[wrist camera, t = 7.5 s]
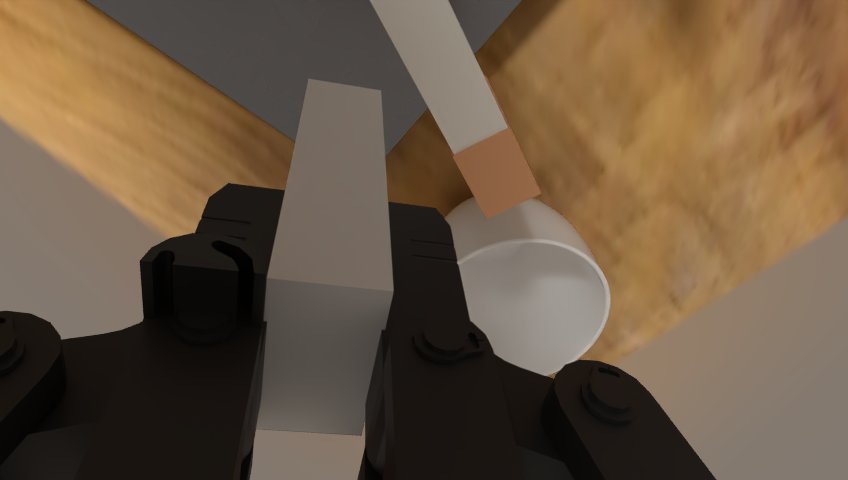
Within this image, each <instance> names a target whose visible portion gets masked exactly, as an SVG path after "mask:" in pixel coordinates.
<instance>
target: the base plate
mask: <svg viewBox="0 0 848 480" xmlns="http://www.w3.org/2000/svg"><path fill="white" fill-rule="evenodd" d="M86 1H88V2H89V3H91V4H92V5H94V6H95V7H97V8H98V9H100V10H101V11H103V12H104V13H106V14H107V15H109V16H110V17H112V18H113V19H115V20H116V21H117V22H119V23H120V24H122V25H123V26H125V27H126V28H128V29H129V30H131V31H132V32H134V33H135V34H137V35H138V36H140V37H141V38H143V39H144V40H146V41H147V42H148V43H150V44H151V45H153V46H154V47H156V48H157V49H159V50H160V51H162V52H163V53H165V54H166V55H168V56H169V57H171V58H172V59H174V60H175V61H177V62H178V63H179V64H181V65H182V66H184V67H185V68H187V69H188V70H190V71H191V72H193V73H194V74H196V75H197V76H199V77H200V78H202V79H203V80H205V81H206V82H208V83H209V84H210V85H212V86H213V87H215V88H216V89H218V90H219V91H221V92H222V93H224V94H225V95H227V96H228V97H230V98H231V99H233V100H234V101H236V102H237V103H239V104H240V105H241V106H243V107H244V108H246V109H247V110H249V111H250V112H252V113H253V114H255V115H256V116H258V117H259V118H261V119H262V120H264V121H265V122H267V123H268V124H269V125H271V126H272V127H274V128H275V129H277V130H278V131H280V132H281V133H283V134H284V135H286V136H287V137H289V138H290V139H292V140H293V141H296V136H297V131H298V127H299V122H300V117H301V112H302V108H303V103H304V98H305V93H306V88H307V84H308V79H314V80H320V81H326V82H332V83H338V84H345V85H351V86H357V87H363V88H369V89H375V90H381V97H382V113H383V129H384V145H385V156H386V155H387V154H388V153H389V152H390V151H391V150H392V148H393V147H394V146H395V145H396V144H397V143H398V142H399V140H400V139H401V138H402V137H403V136H404V135H405V134H406V132H407V131H408V130H409V129H410V128H411V127H412V126H413V124H414V123H415V122H416V121H417V120H418V119H419V118H420V116H421V115H422V114H423V113H424V112H425V111H426V110H427V108H428V106H427V104H426V102H425V101H424V99H423V97H422V95H421V93H420V91H419V90H418V88H417V86H416V84H415V82H414V80H413V79H412V77H411V75H410V73H409V71H408V69H407V68H406V66H405V64H404V62H403V60H402V58H401V57H400V55H399V53H398V51H397V49H396V47H395V46H394V44H393V42H392V40H391V38H390V36H389V35H388V33H387V31H386V29H385V27H384V25H383V24H382V22H381V20H380V18H379V16H378V14H377V13H376V11H375V9H374V7H373V5H372V3H371V2H370V0H86ZM448 1H449V3H450V5H451V7H452V9H453V11H454V13H455V15H456V18H457V20H458V22H459V24H460V26H461V28H462V30H463V32H464V34H465V37H466V39H467V41H468V43H469V45H470V47H471V49H472V51H473V53H474V55H475V53H476V52H477V51H478V50H479V49H480V48H481V47H482V45H483V44H484V43H485V42H486V41H487V40H488V39H489V37H490V36H491V35H492V34H493V33H494V32H495V31H496V29H497V28H498V27H499V26H500V25H501V24H502V23H503V21H504V20H505V19H506V18H507V17H508V16H509V15H510V13H511V12H512V11H513V10H514V9H515V8H516V7H517V5H518V4H519V3H520V2H521V1H522V0H448Z"/></svg>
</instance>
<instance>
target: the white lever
mask: <svg viewBox="0 0 848 480" xmlns="http://www.w3.org/2000/svg"><path fill="white" fill-rule="evenodd" d="M370 2H371V3H372V5H373V7H374V9H375V11H376V13H377V14H378V16H379V18H380V20H381V22H382V24H383V25H384V27H385V29H386V31H387V33H388V35H389V36H390V38H391V40H392V42H393V44H394V46H395V47H396V49H397V51H398V53H399V55H400V57H401V58H402V60H403V62H404V64H405V66H406V68H407V69H408V71H409V73H410V75H411V77H412V79H413V80H414V82H415V84H416V86H417V88H418V90H419V91H420V93H421V95H422V97H423V99H424V101H425V102H426V104H427V106H428V108H429V110H430V112H431V113H432V115H433V117H434V119H435V121H436V123H437V124H438V126H439V128H440V130H441V132H442V134H443V135H444V137H445V139H446V141H447V143H448V145H449V146H450V149H451V153H452V157H453V159H454V160H455V162H456V164H457V166H458V168H459V170H460V171H461V173H462V175H463V177H464V179H465V180H466V182H467V184H468V186H469V188H470V190H471V191H472V193H473V195H474V197H475V199H476V201H477V202H478V204H479V206H480V208H481V210H482V211H483V213H484V215H485V217H486V219H488V218H490V217H493V216H495V215H497V214H499V213H501V212H503V211H505V210H507V209H510V208H512V207H514V206H516V205H518V204H520V203H522V202H525V201H527V200H529V199H531V198H533V197H535V196H537V195H539V194H542V193H541V191H540V189H539V187H538V185H537V183H536V180H535V178H534V176H533V174H532V172H531V170H530V168H529V166H528V163H527V161H526V159H525V157H524V155H523V153H522V151H521V149H520V146H519V144H518V142H517V140H516V138H515V136H514V134H513V132H512V130H511V127H510V125H509V123H508V121H507V119H506V117H505V115H504V113H503V110H502V108H501V106H500V104H499V102H498V100H497V98H496V96H495V94H494V91H493V89H492V87H491V85H490V83H489V81H488V79H487V77H486V75H483V73H482V70H481V68H480V66H479V64H478V62H477V60H476V58H475V56H474V53H473V51H472V49H471V47H470V45H469V43H468V41H467V39H466V37H465V34H464V32H463V30H462V28H461V26H460V24H459V22H458V20H457V18H456V15H455V13H454V11H453V9H452V7H451V5H450V3H449V1H448V0H370Z"/></svg>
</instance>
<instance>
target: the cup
mask: <svg viewBox="0 0 848 480" xmlns="http://www.w3.org/2000/svg"><path fill="white" fill-rule="evenodd" d="M444 219H445V220H446V221H447V222H448V224H449V225H450V227H451V231H452V236H453V241H454V248H455V250H456V255H457V264H458V265H459V269H460V274H461V279H462V284H463V288H464V293H465V298H466V303H467V307H468V312H469V317H470V321H471V322H473V323H474V324H475V325H476V326H477V327H478V328H479V329H480V330H482V331H483V332H484V333H485V334H486V336H487V338H488V340H489V342H490V344H491V346H492V348H493V351H494V354H496V355H497V356H499V357H500V358H502V359H503V360H505V361H507V362H509V363H511V364H514V365H516V366H518V367H521V368H524V369H527V370H530V371H533V372H535V373H538V374H541V375H544V376H548V375H551V374H553V373H555V372H557V371H559V370H561V369H562V368H563V366H564V365H565V364H568V363H571V362H574V361H576V360H577V359H578V358H580V357H581V356H582V355H583V354H584V353H585V352H586V351H587V350H588V349H589V348H590V347H591V346H592V345H593V344H594V343H595V341H596V340H597V339H598V337H599V336H600V334H601V332H602V331H603V329H604V327H605V324H606V322H607V319H608V316H609V311H610V302H611V298H610V290H609V286H608V283H607V280H606V278H605V276H604V274H603V272H602V270H601V268H600V266H599V264H598V262H597V260H596V258H595V256H594V255H593V253H592V251H591V250H590V248H589V246H588V245H587V243H586V242H585V240H584V239H583V238H582V236H581V235H580V234H579V232H578V231H577V230H576V229H575V228H574V226H573V225H572V224H571V223H570V222H569V221H568V220H567V219H566V218H565V217H563V216H562V215H561V214H560V213H558V212H557V211H556V210H554V209H553V208H551V207H550V206H548V205H546V204H545V203H543V202H541V201H539V200H537V199H534V198H531V199H529V200H527V201H525V202H522V203H520V204H518V205H516V206H514V207H512V208H510V209H507V210H505V211H503V212H501V213H499V214H497V215H495V216H493V217H490V218H488V219H486V217H485V215H484V213H483V211H482V210H481V208H480V206H479V204H478V202H477V201H476V199H475V197H474V196H473V197H471V198H469V199H467V200H465V201H463V202H462V203H460V204H459V205H457V206H456V207H455V208H454V209H453V210H451V211H450V212H449V213H448V214H447V215H446V217H445V218H444Z"/></svg>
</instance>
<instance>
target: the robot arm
mask: <svg viewBox="0 0 848 480" xmlns="http://www.w3.org/2000/svg"><path fill="white" fill-rule="evenodd" d="M140 271H141V286H142V300H143V314H144V319H143V321H142V322H140V323H139V324H136V325H133V326H131V327H128V328H125V329H123V330H120V331H115V332H110V333H105V334H99V335H92V336H85V337H78V338H70V339H63V340H61V337H60V335H59V334H58V332H57V331H56V330H55V328H54V327H53V326H52V324H51V323H50V322H48V321H46V320H44V319H42V318H39V317H37V316H35V315H32V314H29V313H21V312H12V311H0V480H249V479H250V474H251V468H252V458H253V443H254V437H255V431H256V429H262V430H278V431H295V432H311V433H327V434H344V435H360V436H361V435H362V431H363V427H364V422H365V450H364V454H363V458H362V463H361V467H360V471H359V475H358V480H716V479H715V478H714V476H713V475H712V473H711V472H710V471H709V470H708V468H707V467H706V465H705V464H704V463H703V462H702V460H701V459H700V458H699V456H698V455H697V454H696V452H695V451H694V450H693V448H692V447H691V446H690V445H689V443H688V442H687V441H686V439H685V438H684V437H683V435H682V434H681V433H680V431H679V430H678V429H677V427H676V426H675V425H674V424H673V422H672V421H671V420H670V418H669V417H668V416H667V414H666V413H665V412H664V410H663V409H662V408H661V406H660V405H659V404H658V403H657V401H656V400H655V399H654V397H653V396H652V395H651V393H650V392H649V391H647V390H646V388H645V387H644V386H643V385H642V384H640V382H639V381H638V380H637V379H635V378H634V377H632V376H631V375H629V374H627V373H626V372H624V371H623V370H621V369H619V368H618V367H615V366H612V365H609V364H606V363H603V362H600V361H592V360H578V361H575V362H571V363H568V364H565V365H564V366H563V368H562V369H561V370H560V371H559V372H558V373H557V374H556V376H555V378H554V379H553V378H550V377H547V376H544V375H541V374H538V373H535V372H533V371H530V370H527V369H524V368H521V367H518V366H516V365H514V364H511V363H509V362H507V361H505V360H503V359H502V358H500V357H499V356H497V355H496V354H494V351H493V348H492V346H491V344H490V342H489V340H488V338H487V336H486V334H485V333H484V332H483V331H482V330H480V329H479V328H478V327H477V326H476V325H475V324H474V323H473V322H471V321H470V317H469V312H468V307H467V303H466V298H465V293H464V288H463V284H462V279H461V274H460V269H459V265H458V264H457V255H456V250H455V248H454V241H453V236H452V231H451V227H450V225H449V224H448V222H447V221H446V220H445V219H444V218H443V216H442V215H441V214H440V213H439V212H438V211H437V209H436V208H431V207H423V206H415V205H408V204H400V203H393V202H388V193H387V177H386V161H385V145H384V129H383V113H382V97H381V90H375V89H369V88H363V87H357V86H351V85H345V84H338V83H332V82H326V81H320V80H314V79H308V84H307V88H306V93H305V98H304V103H303V108H302V112H301V117H300V122H299V127H298V131H297V136H296V141H295V146H294V151H293V155H292V160H291V165H290V170H289V174H288V179H287V184H286V189H285V190H277V189H269V188H262V187H254V186H246V185H239V184H231V183H228V184H227V185H226V186H224V187H223V188H221V189H220V190H219V191H217V192H216V193H215V194H213V195H212V196H211V197H209V199H208V202H207V204H206V207H205V209H204V212H203V214H202V218H201V220H200V222H199V224H198V227H197V229H196V231H195V233H192V234H187V235H183V236H178V237H173V238H169V239H167V240H165V241H163V242H161V243H160V244H158V245H156V246H154V247H152V248H151V249H150V250H149V251H148V252H147V253H146V254H145V256H144V257H143V258H142V259H141V260H140Z"/></svg>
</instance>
